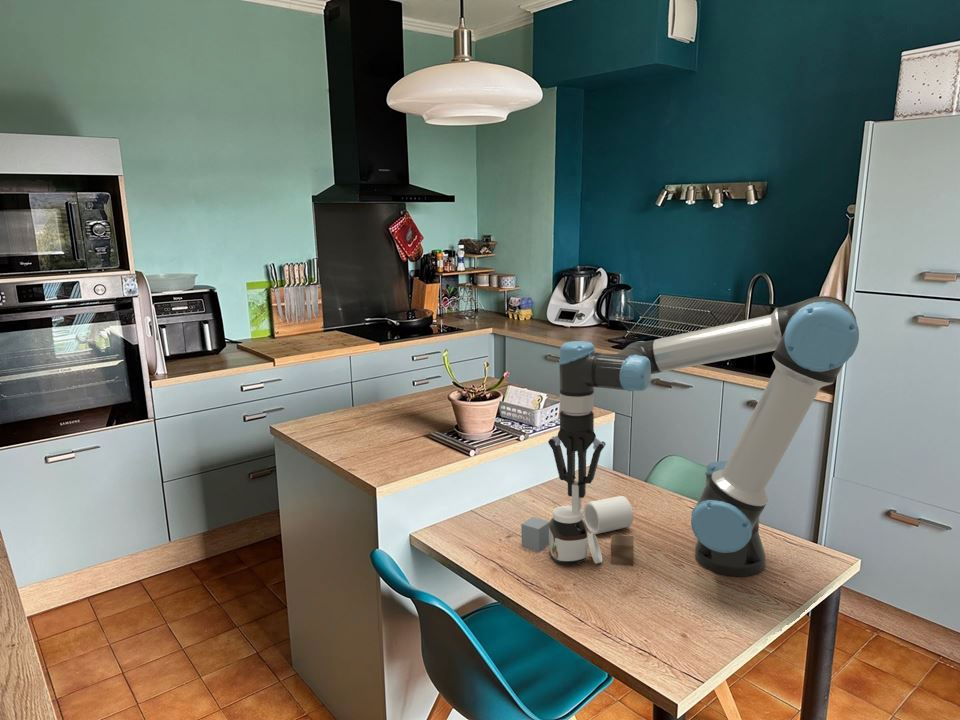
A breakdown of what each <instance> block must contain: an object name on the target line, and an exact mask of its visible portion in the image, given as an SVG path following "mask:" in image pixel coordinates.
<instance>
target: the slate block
mask: <svg viewBox="0 0 960 720" xmlns="http://www.w3.org/2000/svg"><path fill="white" fill-rule="evenodd" d="M549 522H550V520H546V519H542V518H538V517H536V516H531V517H530V518H528V519H527V520H526V521H524V522H522V523H520V524H521V525H520V526H521V528H520V529H521V532H520V533H521V547H522V548H525V549H527V550H531V551H532V552H533V551H534V552H537V553H541V551H543V550H544V549H546V548H547V547H548V546H549Z"/></svg>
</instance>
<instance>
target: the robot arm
mask: <svg viewBox="0 0 960 720" xmlns="http://www.w3.org/2000/svg"><path fill="white" fill-rule="evenodd" d="M856 318H857V317H856V315H855V313H854V311H853V309H852V308H851V306H850V305H849V304H847V303H846V302H845V301H843V300H841V299H840V298H838V297H835V296H828V295H820V296H819V295H818V296H814V297H811V298H808V299H805V300H803V301H800V302H796V303H792V304H788V305H786V306H781V307H777V308H775V309H774V310H773V312H772V313H771V314H767V315H763V316H758V317H754V318H749V319H744V320H741V321H740V320H739V321H735V322H731V323H725V324H721V325H717V326H711V327H708V328H702V329H698V330H693V331H690V332H684V333H680V334H675V335H671V336H666V337H660V338H657V339H653V340H652V339H651V340H648V341H643V340H641V341H635V342H632V343H630V344H628V345H627V346H626V347H625V348H623V349H622V350H620V351H619V352H618V353H604V352H603V353H601V352H596V351H595V346H594V344H593V343H592V342H590V341H583V340H581V341H580V340H574V341H566V342H564V343H563V344H562V345H560V348H559V360H558V361H559V362H558V366H559V367H558V368H559V410H560V412H559V430H558V433H557V435H555V436H551V438H549V440H548V442H547V443H548V445H549V447H550V448H551V450H552V452H553V457H554V462H555V465H556V469H557V473H558V477H559V480H560V481H565V482H566V483H567V495H568V497H571V506H572V512H579V511H580V509H581V510H582V499H583V498H584V497H585V496H586V494H587V493H586V492H587V490H586V488H587V487H586V485H587V484H591V483H592V482H593V481H594V479H595V475H596V471H597V468H598V464H599V462H600V461H599V460H600V457H601V453H602V451H603V449H604V448H605V447H606V444H607V443H606V441H601V440H599V439H598V438H597V437H596V436H597V435H596V433H595V430H594V429H595V427H594V426H595V425H594V422H595V419H594V417H595V416H594V412H593V411H594V409H595V407H594V405H595V397H594V396H595V395H594V393H595V389H594V388H601V389H610V390H612V389H613V390H622V391H628V392H635V391H636V392H642V391H646V390H647V389H648V387H649V384H650V381H651V376H652V375H654V374H658V373H659V374H660V373H662V372H663V373H664V372H668V371H673V370H677V369H678V370H679V369H680V370H681V369H684V368H690V367H695V366H700V365H705V364H711V363H717V362H721V361H727V360H728V361H729V360H731V359H732V360H733V359H738V358H742V357H744V358H745V357H748V356H753V355H759V354H765V353H769V352H773V351H774V352H773V353H772V356H771V357H772V361H773V363H774V365H775V369H774V370H773V372H772V374H771V376H770V379H769V380H768V382H767V384H766V386H765V388H764V390H763V392H762V393H761V396H760V398H759V399H758V401H757V403H756V406H755V407H754V409H753V411H752V413H751V415H750V417H749V419H748V421H747V423H746V425H745V427H744V429H743V431H742V432H741V435H740V437H738V441H737V442H736V444H735V446H734V448H733V449H732V452H731V455H730V456H729V458H728V460H718V461H711V462H709V464H707V466H706V471H705V487H704V489H703V491H702V493H701V495H700V496H699V499H698V500H697V503H696V505H695V506H694V507H693V509H692V511H691V515H690V516H691V517H690V526H691V530H692V532H693V534H694V536H695V538H696V539H697V541H696V544H695V547H694V549H695V550H694V552H695V553H694V557H695V560H696V562H697V563H698V564H699V565H700V566H702V567H703V568H705V569H707V570H709V571H711V572H713V573H716V574H721V575H723V576H724V575H725V576H729V577H747V576H748V577H749V576H753V575H756V574H758V573H761V572H762V571H763V570H764V569H765V567H766V553H765V549H764V546H763V543H762V539H761V535H760V531H759V530H760V529H759V527H760V516H761V514H762V512H763V511H764V509H765V507H766V506H767V503H768V501H769V498H768V496H767V494H766V491H765V490H766V488H767V486H768V484H769V482H770V480H771V479H772V477H773V475H774V473H775V471H776V470H777V468H778V466H779V465H780V462H781V460H782V459H783V457H784V455H785V453H786V451H787V449H788V447H789V446H790V444H791V442H792V441H793V439H794V437H795V435H796V434H797V432H798V429H799V428H800V426H801V424H802V422H803V420H804V419H805V417H806V415H807V413H808V412H809V410H810V408H811V406H812V405H813V403H814V400H816V397H817V395H818V393H819V392H820V389H821V388H823V387H826V386H830V385H833V384H834V383H835V381H836V379H837V377H838V375H839V374H840V371H841V370H842V368H843V366H844V365H845V363H847V362H848V361H849V359H851V358H852V356H853V355H854V353H855V351H856V350H857V347H858V345H859V339H860V337H859V336H860V332H859V331H860V330H859V326H858V322H857V319H856ZM561 444H562V445H563V446H564V448H565V450H566V457H567V458H566V462H565V459H564V455H563V450H562V445H561ZM592 444H593V446H592V449H594V451H593V454H592V457H591V461H590V464H589V468H588V471H587V453H588V452H587V450H588V449H589V448H590V447H591V445H592ZM576 452H577V459H578V460H577V461H578V462H577V465H578V467H577V469H578V470H577V471H578V472H577V474H578V475H577V477H578V479H577V477H576ZM566 464H567V465H566ZM587 472H588V473H587ZM576 479H577V480H576Z"/></svg>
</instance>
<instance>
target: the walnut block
mask: <svg viewBox="0 0 960 720" xmlns="http://www.w3.org/2000/svg"><path fill="white" fill-rule="evenodd" d="M610 565H614V566H615V565H616V566H617V565H618V566H629V567H633V566H634V535H623V534H611V539H610Z"/></svg>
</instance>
